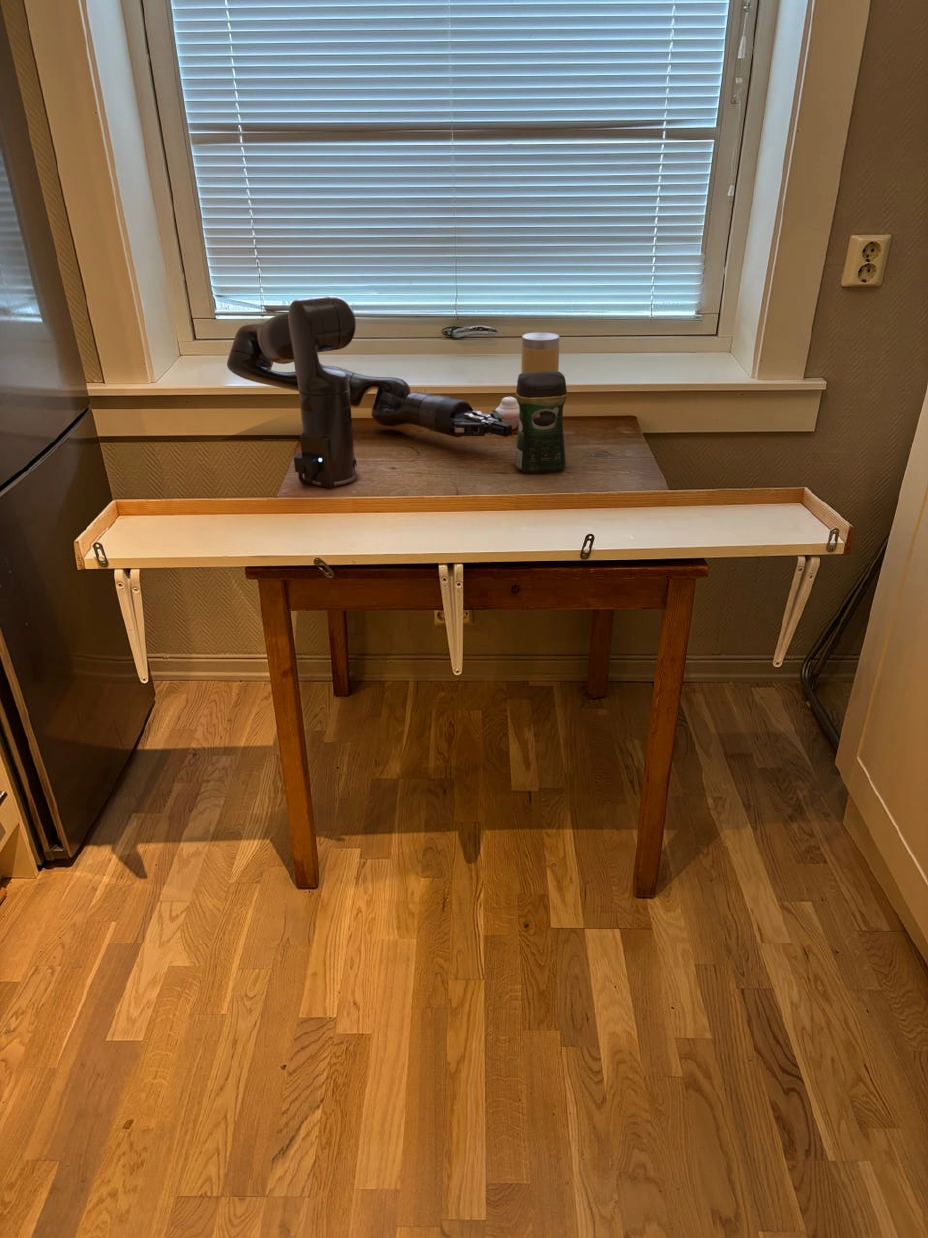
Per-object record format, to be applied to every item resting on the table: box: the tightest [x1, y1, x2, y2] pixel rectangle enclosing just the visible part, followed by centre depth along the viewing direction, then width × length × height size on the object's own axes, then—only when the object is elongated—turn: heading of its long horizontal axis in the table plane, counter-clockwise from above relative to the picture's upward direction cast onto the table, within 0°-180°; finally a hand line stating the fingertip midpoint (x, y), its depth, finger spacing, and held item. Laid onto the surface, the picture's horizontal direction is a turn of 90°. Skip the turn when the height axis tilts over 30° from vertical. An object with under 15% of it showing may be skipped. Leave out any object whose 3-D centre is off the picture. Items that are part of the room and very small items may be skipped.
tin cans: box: [520, 331, 560, 374], centre depth 187 cm, size 8×8×22 cm
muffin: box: [494, 396, 519, 430], centre depth 200 cm, size 6×6×7 cm
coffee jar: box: [515, 371, 568, 474], centre depth 174 cm, size 10×8×19 cm
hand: (509, 431), depth 179 cm, fingers closed
